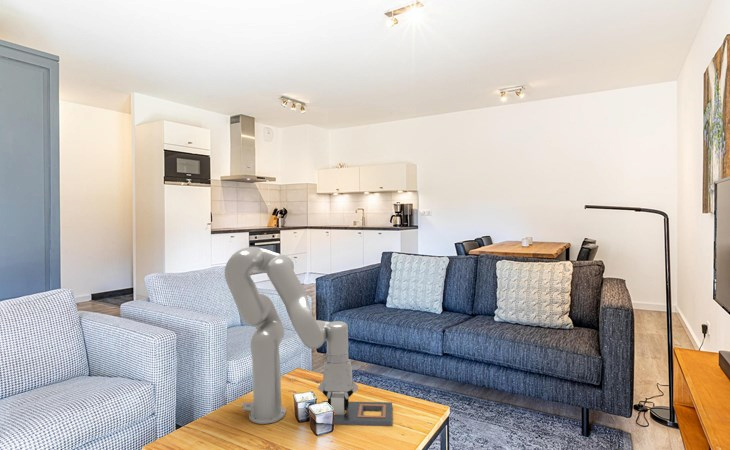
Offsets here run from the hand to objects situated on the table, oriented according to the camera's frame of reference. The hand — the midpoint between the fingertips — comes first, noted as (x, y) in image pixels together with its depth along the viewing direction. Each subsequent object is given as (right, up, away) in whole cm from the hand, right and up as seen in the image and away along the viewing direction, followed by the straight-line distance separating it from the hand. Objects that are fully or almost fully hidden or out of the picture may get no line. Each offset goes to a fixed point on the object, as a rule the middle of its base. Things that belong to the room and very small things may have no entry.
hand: (338, 407), depth 147 cm
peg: (0, -2, 0) cm, 2 cm away
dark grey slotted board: (+6, -2, 0) cm, 6 cm away
